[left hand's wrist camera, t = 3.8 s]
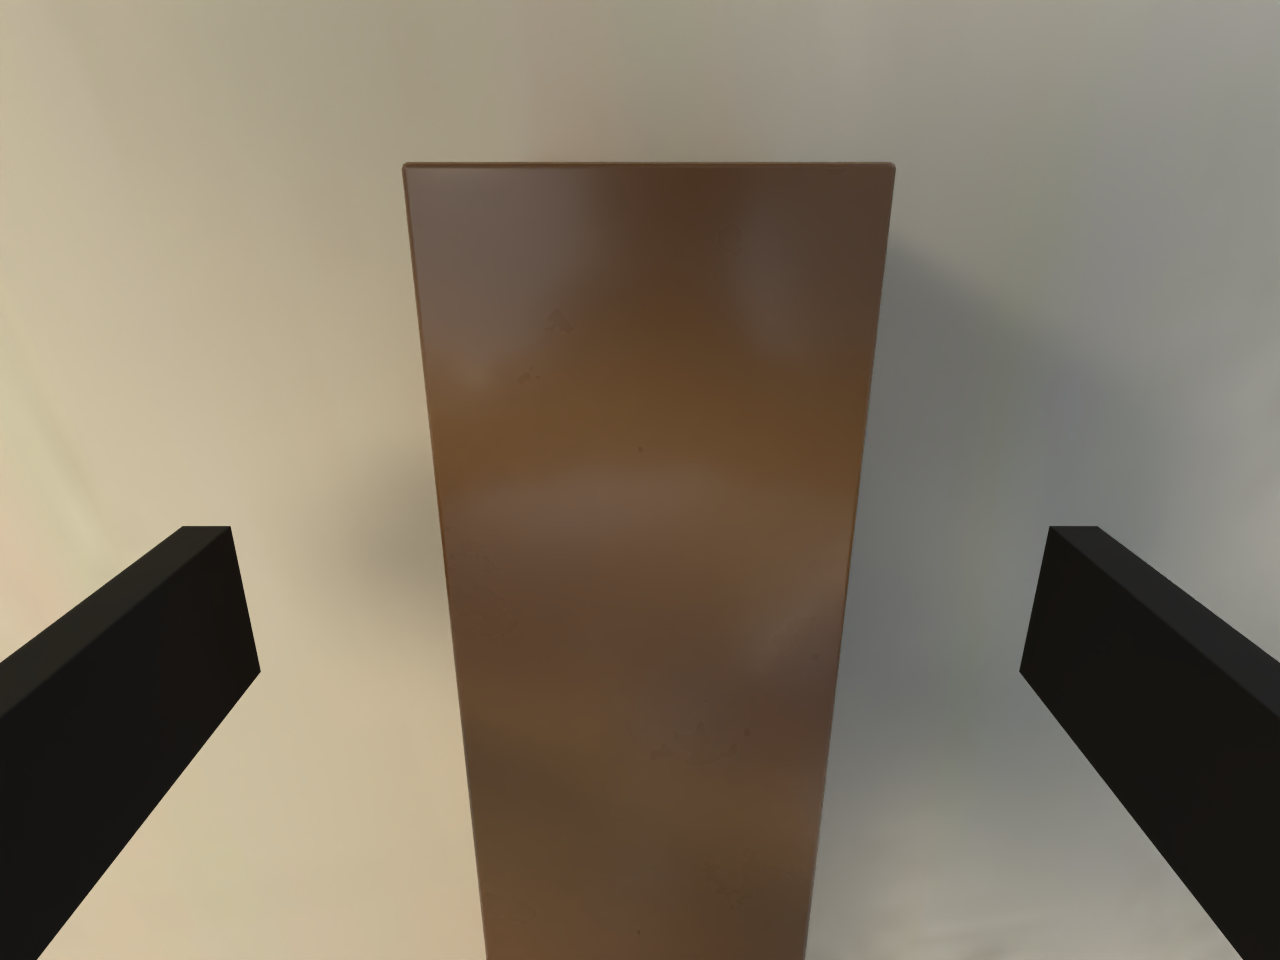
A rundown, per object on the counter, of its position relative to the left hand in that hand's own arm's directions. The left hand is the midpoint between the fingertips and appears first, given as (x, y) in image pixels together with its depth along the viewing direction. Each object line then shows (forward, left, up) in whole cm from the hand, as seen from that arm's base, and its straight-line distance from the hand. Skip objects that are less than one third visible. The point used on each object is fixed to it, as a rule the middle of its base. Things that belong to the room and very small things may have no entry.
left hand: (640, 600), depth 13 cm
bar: (+14, -15, -7) cm, 21 cm away
